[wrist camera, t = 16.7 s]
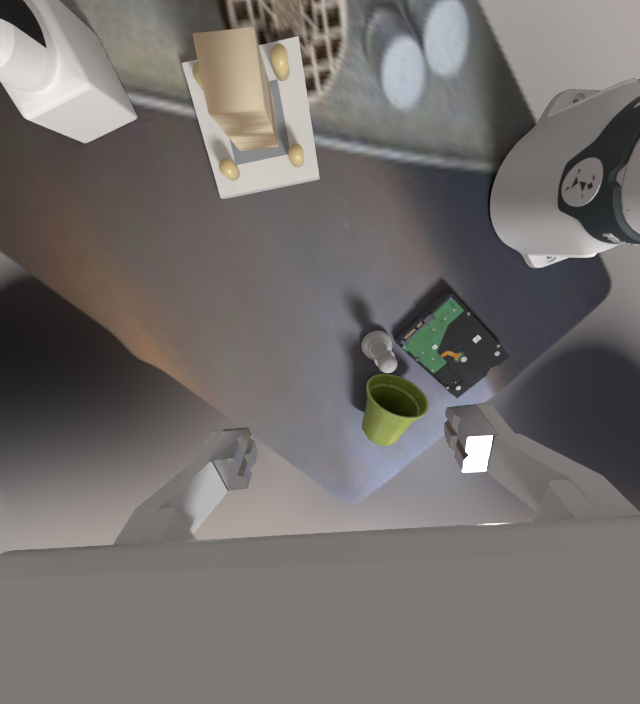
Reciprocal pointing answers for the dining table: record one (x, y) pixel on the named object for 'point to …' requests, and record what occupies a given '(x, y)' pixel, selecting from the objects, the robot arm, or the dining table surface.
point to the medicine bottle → (59, 71)
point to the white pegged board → (291, 120)
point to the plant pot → (391, 408)
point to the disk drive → (451, 344)
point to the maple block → (237, 87)
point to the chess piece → (379, 350)
